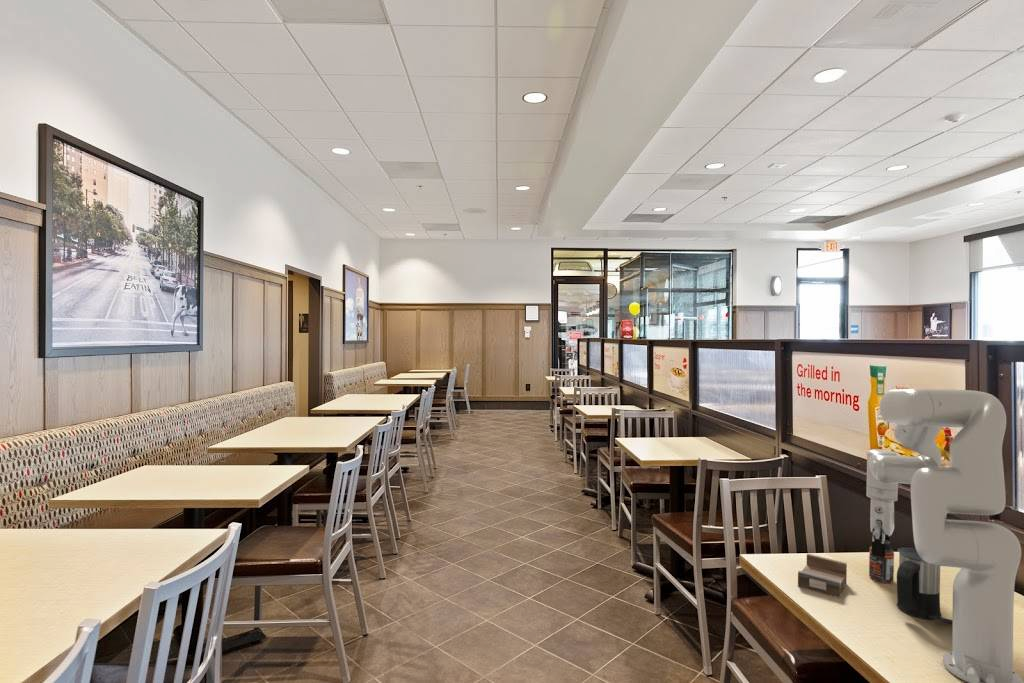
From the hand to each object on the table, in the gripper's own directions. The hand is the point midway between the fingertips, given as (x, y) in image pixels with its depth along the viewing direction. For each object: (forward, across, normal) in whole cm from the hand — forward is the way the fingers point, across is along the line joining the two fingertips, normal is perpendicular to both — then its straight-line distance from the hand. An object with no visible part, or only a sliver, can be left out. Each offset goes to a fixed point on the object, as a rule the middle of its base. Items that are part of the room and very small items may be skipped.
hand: (880, 550), depth 156 cm
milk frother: (+8, -19, -14) cm, 24 cm away
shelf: (+8, -17, +12) cm, 22 cm away
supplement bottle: (+8, -1, 0) cm, 8 cm away
